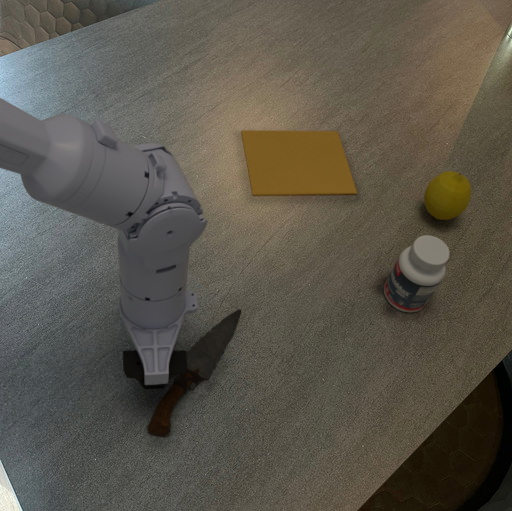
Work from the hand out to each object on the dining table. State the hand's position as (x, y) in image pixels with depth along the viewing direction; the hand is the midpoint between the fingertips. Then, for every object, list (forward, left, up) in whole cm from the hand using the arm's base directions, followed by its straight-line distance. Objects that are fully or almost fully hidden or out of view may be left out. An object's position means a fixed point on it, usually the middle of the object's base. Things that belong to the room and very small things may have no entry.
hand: (152, 350), depth 64 cm
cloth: (+21, +28, -1) cm, 35 cm away
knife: (+5, -2, -1) cm, 5 cm away
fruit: (+38, +18, -1) cm, 42 cm away
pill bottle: (+30, +6, -1) cm, 30 cm away
